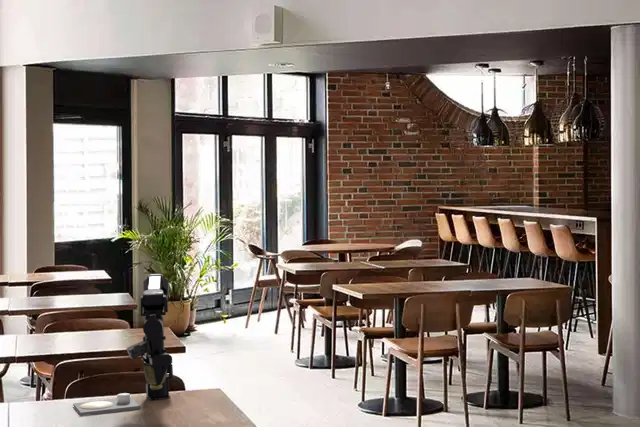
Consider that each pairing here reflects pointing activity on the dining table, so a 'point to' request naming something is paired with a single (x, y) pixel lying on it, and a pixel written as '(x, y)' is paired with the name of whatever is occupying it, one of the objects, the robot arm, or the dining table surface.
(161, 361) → the robot arm
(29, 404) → the dining table surface
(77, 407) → the carrier plate
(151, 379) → the cup
